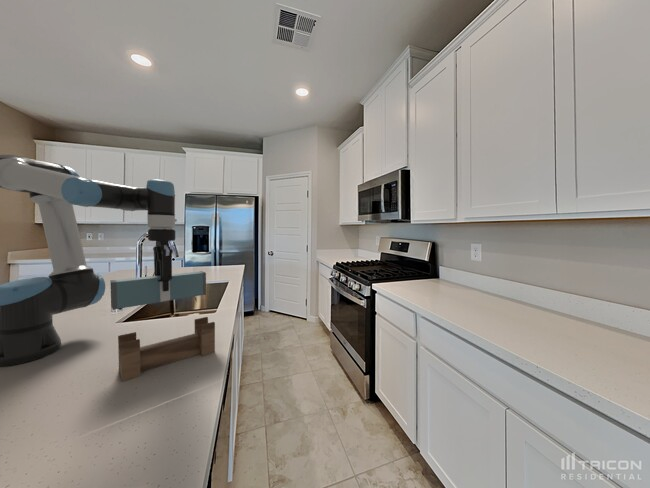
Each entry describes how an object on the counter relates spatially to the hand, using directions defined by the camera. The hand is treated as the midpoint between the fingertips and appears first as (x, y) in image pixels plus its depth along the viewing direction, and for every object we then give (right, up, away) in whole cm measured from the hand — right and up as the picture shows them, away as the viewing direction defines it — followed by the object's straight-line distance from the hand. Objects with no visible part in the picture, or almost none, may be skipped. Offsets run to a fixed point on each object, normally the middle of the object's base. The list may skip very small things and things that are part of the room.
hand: (163, 299), depth 83 cm
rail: (0, 0, 0) cm, 0 cm away
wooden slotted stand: (+6, -18, -6) cm, 20 cm away
